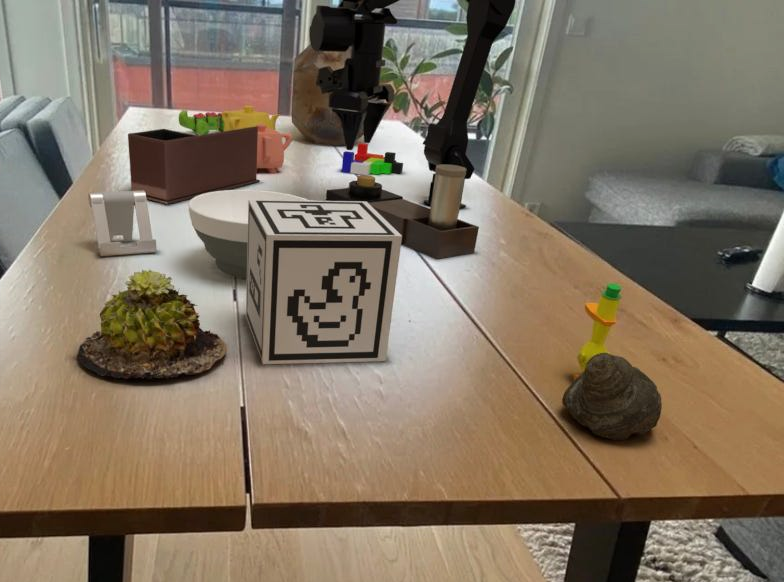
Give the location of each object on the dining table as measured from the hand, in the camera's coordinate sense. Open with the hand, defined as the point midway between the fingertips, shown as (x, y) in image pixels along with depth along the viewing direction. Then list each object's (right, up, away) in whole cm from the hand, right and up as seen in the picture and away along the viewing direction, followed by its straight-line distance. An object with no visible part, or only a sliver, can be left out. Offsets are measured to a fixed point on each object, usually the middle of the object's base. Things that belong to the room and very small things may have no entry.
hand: (358, 146), depth 145 cm
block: (-9, -45, -48) cm, 67 cm away
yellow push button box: (+2, -7, +11) cm, 13 cm away
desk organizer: (-32, -3, +14) cm, 35 cm away
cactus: (-28, -49, -55) cm, 79 cm away
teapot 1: (-24, +21, +51) cm, 60 cm away
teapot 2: (-20, +9, +33) cm, 40 cm away
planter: (-3, +31, +69) cm, 76 cm away
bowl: (-18, -31, -27) cm, 45 cm away
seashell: (+24, -57, -62) cm, 88 cm away
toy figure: (+23, -52, -54) cm, 78 cm away
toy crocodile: (-35, +33, +68) cm, 83 cm away
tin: (+13, -23, -12) cm, 29 cm away
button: (+2, -4, +9) cm, 10 cm away
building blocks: (+7, +12, +41) cm, 43 cm away
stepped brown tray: (+10, -20, -8) cm, 24 cm away
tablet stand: (-39, -26, -23) cm, 52 cm away
